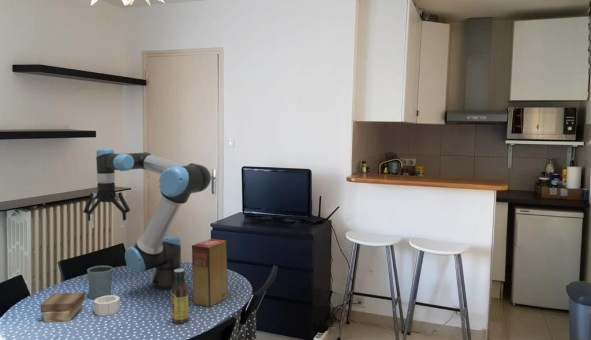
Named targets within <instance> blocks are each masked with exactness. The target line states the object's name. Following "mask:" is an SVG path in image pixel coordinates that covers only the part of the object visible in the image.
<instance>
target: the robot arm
mask: <svg viewBox="0 0 591 340" xmlns="http://www.w3.org/2000/svg"><path fill="white" fill-rule="evenodd" d="M95 156H96V157H95V161H96V181H97V185H96V186H97V189H96V190H97V191H96V192H94V191H92V192H90V194H89V199H88V201H87V202H86V205H85V207H84V210H83V213H84V214H87V221H88V222H90V223H89V224H90V226H89V227H90V229H93V228H95V218H94V217H95V215H94V213H93V212H94V211H95V209H96V208H97V207H98V206H99V205H100V203H101V202H102V203H112V204H113V205H114V206H115V207H116V208H117V209H118V210H119V212H121V213H120V228H121V229H122V228H124V227H125V221H126V220H127V213H129V212H131V208H130V206H129V205H128V203H127V201H126V200H125V198H124V196H123V194H124V193H123V192H122V191H120V192H116V183H115V181H116V180H115V179H116V178H115V177H116V176H115V175H116V173H115V171H120V172H126V171H127V172H128V171H130V170H139V169H140V170H145V171H147V172H148V171H149V172H151V173H155V174H158V175H160V176H159V179H158V182H159V185H158V187H159V190H160V192H159V193H160V194H161V197H160V200H159V202H158V203H157V206H156V208H155V210H154V212H153V215H152V216H151V217H150V220H149V221H148V222H149V223H148V224H147V227H146V229H145V230H144V233H143V235H140V236H139V237H138V238H137V239H136V241H135V243H134V245H133V246H129V247H128V248H127V249H125V253H124V260H125V265H126V266H127V267H128V269H129V270H130V271H131V272H133V273H134V274H135V273H136V274H138V273H144V272H146V271H150V270H153V269H154V271H153V275H152V278H151V288H152V289H153V290H158V291H169V290H170V291H171V290H172V287H173V284H174V270H176V269H182V252H181V251H182V244H181V239H180V237H178V236H177V235H167V234H168V231H169V230H170V228H171V227H172V224H173V223H174V220H175V218H176V216H177V214H178V212H179V210H180V208H181V206H182V205H184V204H186V203H187V202H188V201H189V198H190V196H191V195H192V194H195V193H200V192H202V191H205V190H206V189H207V188H208V187H209V186H210V184H211V180H212V176H211V172H210V170H209V169H208V168H207V167H205V166H204V165H202V164H197V163H193V162H191V163H184V162H181V161H178V160H177V161H176V160H172V159H168V158H166V157H165V158H164V157H161V156H157V155H155V154H154V153H153V152H148V151H144V152H135V153H134V152H130V153H126V152H125V153H115V151H114V149H113V148H98V149H96V155H95ZM96 197H97V198H98V199H97V201H96V202H95V203H94V204H93V202H94V199H95V198H96ZM116 197H118V199H119V201H120V202H121V203H120V202H119V201H118V200H117V198H116ZM92 204H93V205H92ZM121 204H122V205H121ZM91 205H92V207H91ZM90 207H91V208H90ZM184 279H185V280H186V278H185V276H184Z"/></svg>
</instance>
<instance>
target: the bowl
mask: <svg viewBox="0 0 591 340" xmlns="http://www.w3.org/2000/svg"><path fill="white" fill-rule="evenodd" d="M120 308H121V297H120V296H117V295H115V294H111V295H107V296H102V297H99V298H96V299H94V300H93V312H94V315H95V316H97V317H109V316H113V315H116V314H117V313H119V312H120Z"/></svg>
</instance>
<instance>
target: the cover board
mask: <svg viewBox="0 0 591 340" xmlns="http://www.w3.org/2000/svg"><path fill="white" fill-rule="evenodd" d="M85 300H86V292H83V291H81V292H60V293H59V292H58V293H57V292H55V293H54V292H53V293H52V294H51V295H49V297H47V298H46V299H45V300H44V301H43V302H42V303H41V304H40V306H39V307H40V313H45V312H63V311H75V310H76V309H77V308H78V306H79V305H80V304H81V303H82V304H83V302H84V301H85Z"/></svg>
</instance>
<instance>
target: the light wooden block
mask: <svg viewBox="0 0 591 340" xmlns="http://www.w3.org/2000/svg"><path fill="white" fill-rule="evenodd" d="M82 308H83V302H82V303H81V304H80V305H79V306H78V308H77V309H76V310H75V311H63V312H43V323H57V322H58V323H59V322H60V323H61V322H71V320H72V319H73V318H74V317H75V315H77V313H78V312H79V311H80V310H81V309H82Z"/></svg>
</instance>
